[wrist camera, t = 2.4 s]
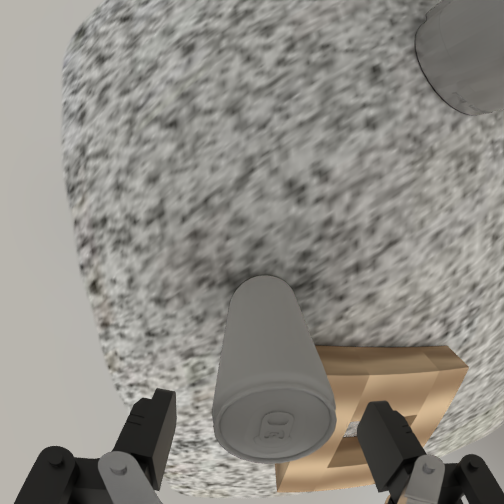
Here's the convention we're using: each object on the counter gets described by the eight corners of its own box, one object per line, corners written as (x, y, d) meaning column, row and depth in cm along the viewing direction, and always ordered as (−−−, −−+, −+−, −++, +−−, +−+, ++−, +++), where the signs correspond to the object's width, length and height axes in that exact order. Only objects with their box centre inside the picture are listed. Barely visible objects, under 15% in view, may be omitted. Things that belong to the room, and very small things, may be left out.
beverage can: (227, 330, 21) (208, 461, 10) (232, 268, 20) (211, 377, 9) (291, 336, 22) (322, 464, 10) (302, 275, 20) (357, 383, 9)
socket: (309, 344, 22) (319, 375, 18) (447, 345, 22) (469, 367, 18) (274, 463, 25) (277, 492, 22) (389, 455, 26) (399, 478, 22)
